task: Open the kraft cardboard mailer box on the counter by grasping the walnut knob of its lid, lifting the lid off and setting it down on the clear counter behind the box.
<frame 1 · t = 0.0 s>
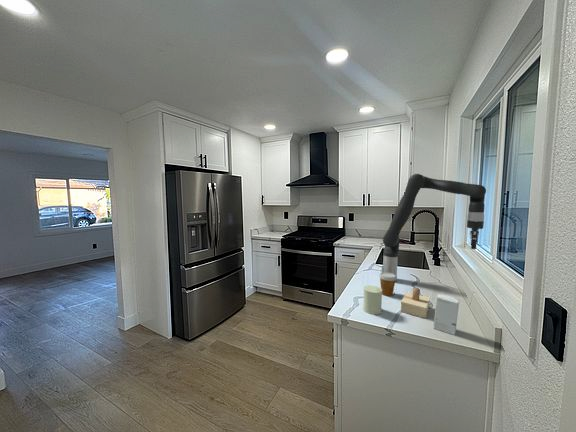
hand: (473, 247, 138), 29 cm above the counter, fingers open, 8 cm apart
disposable coffee cup: (386, 294, 144), on the counter
mailer box: (415, 309, 125), on the counter
skincare box: (445, 329, 107), on the counter
lid: (415, 301, 125), point 4 cm above the counter, touching mailer box
can: (372, 310, 125), on the counter
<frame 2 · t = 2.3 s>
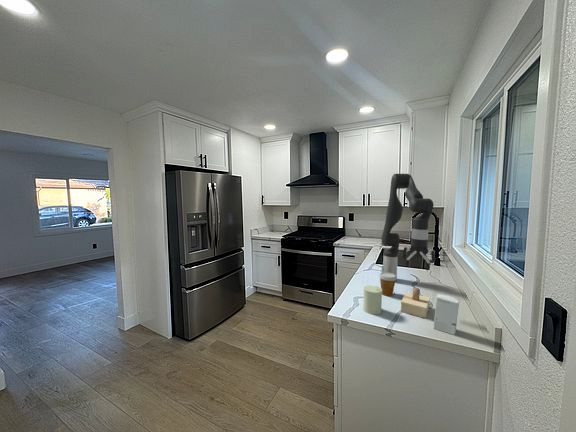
hand: (417, 268, 123), 22 cm above the counter, fingers open, 8 cm apart
nothing on the counter moved.
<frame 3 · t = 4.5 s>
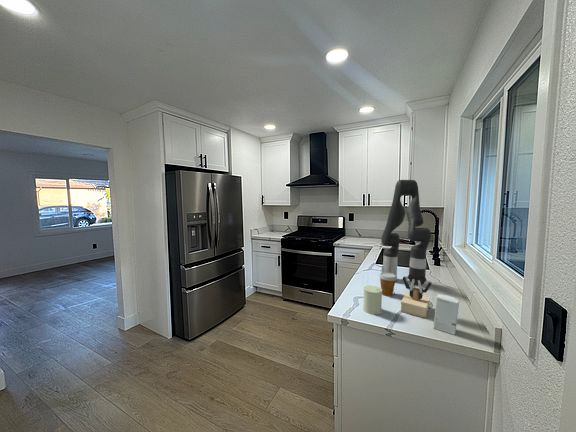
hand: (415, 297, 124), 6 cm above the counter, fingers closed on lid, 3 cm apart
lid: (415, 301, 125), point 4 cm above the counter, touching gripper, mailer box
everything else where it was.
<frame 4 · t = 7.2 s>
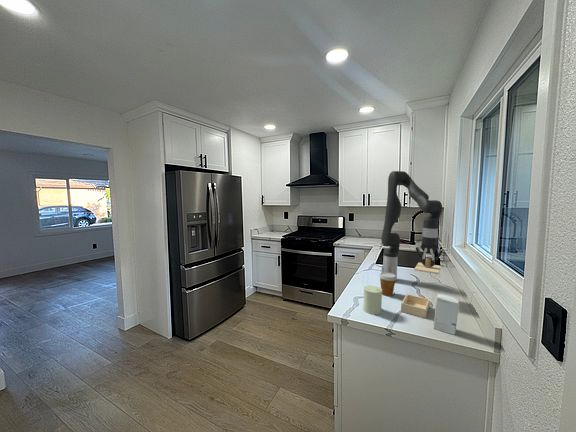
hand: (428, 265, 135), 20 cm above the counter, fingers closed on lid, 3 cm apart
lid: (427, 268, 135), point 18 cm above the counter, touching gripper
everything else where it was.
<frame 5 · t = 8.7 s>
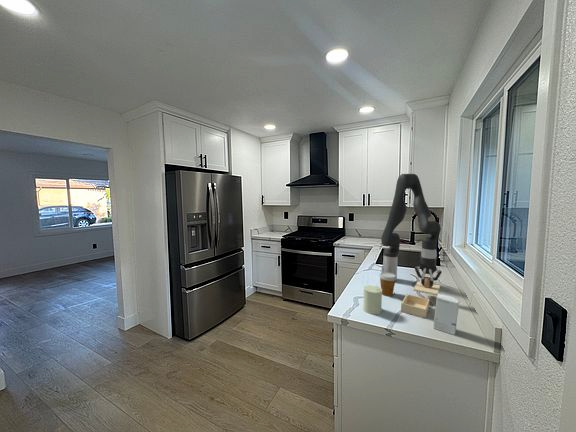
hand: (427, 285, 136), 8 cm above the counter, fingers closed on lid, 3 cm apart
lid: (426, 288, 136), point 6 cm above the counter, touching gripper
everything else where it was.
when the fingers open (3 cm above the counter, at t = 9.9 s): lid drops 2 cm, on the counter.
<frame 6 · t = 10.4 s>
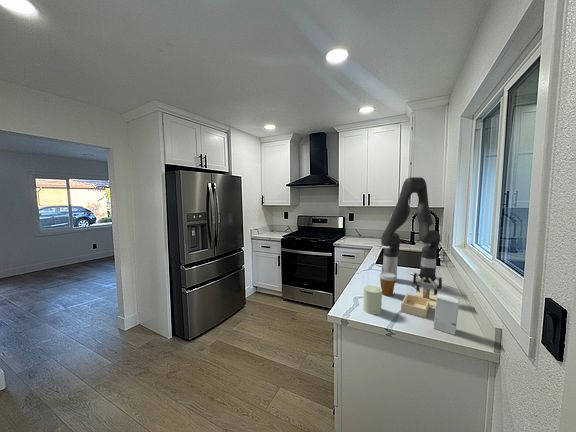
hand: (426, 292, 136), 4 cm above the counter, fingers open, 8 cm apart
lid: (425, 300, 137), on the counter
everything else where it was.
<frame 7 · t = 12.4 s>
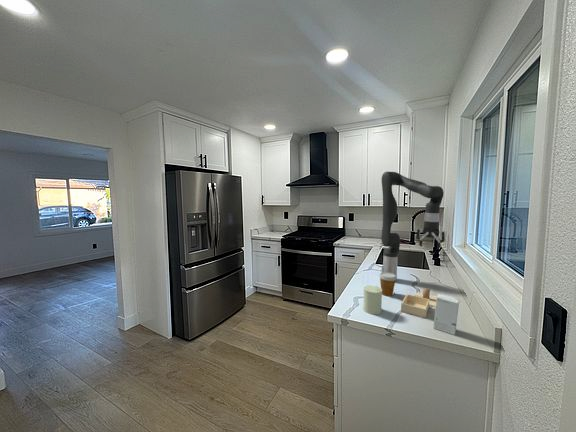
hand: (429, 247, 141), 29 cm above the counter, fingers open, 8 cm apart
nothing on the counter moved.
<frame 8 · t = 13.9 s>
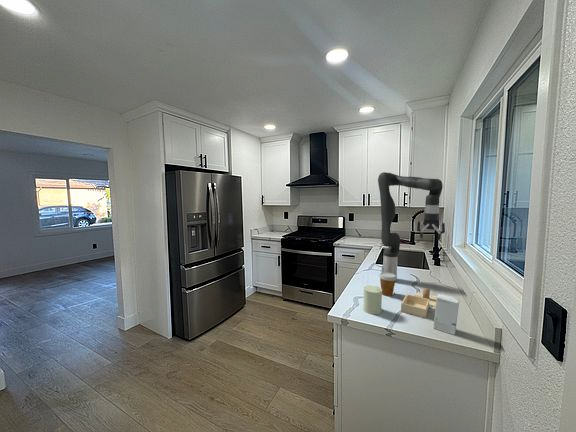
hand: (430, 239, 143), 33 cm above the counter, fingers open, 8 cm apart
nothing on the counter moved.
at the end: lid inside the target area (0.1 cm from its centre), on the counter; lid touching counter; lid tilted 0° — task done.
